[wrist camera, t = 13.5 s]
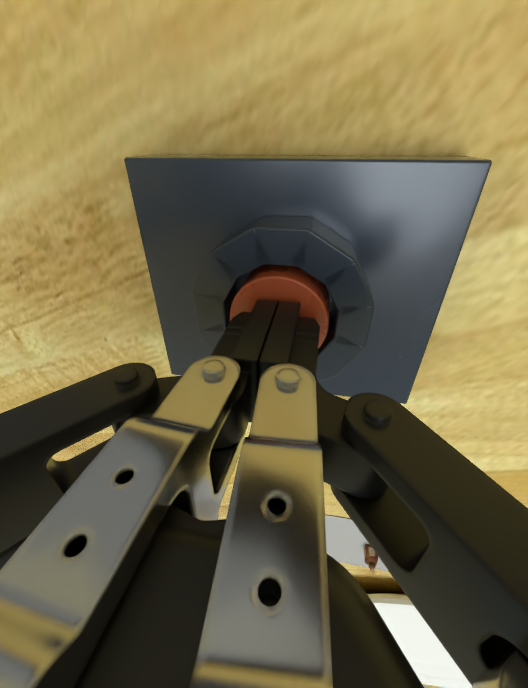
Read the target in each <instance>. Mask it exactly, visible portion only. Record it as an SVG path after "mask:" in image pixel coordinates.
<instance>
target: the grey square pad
mask: <svg viewBox="0 0 528 688" xmlns="http://www.w3.org/2000/svg"><path fill="white" fill-rule="evenodd" d="M325 529H326V551H327V554H328V555H330V556H331V557H333V558H334V559H335V560H336V561H337V562H341V563H347V564H352V565H357V566H363V567H368V568H370V571H371V572H372V573H373V572H374V569H379V570H384V571H388V569H387V568H386V566H385V565H384V564H383V562H382V561H381V559H380V558H379V557H378V555H377V554H376V553H375V551H374V550H373V548H372V547H371V546H370V544H369V543H368V541H367V540H366V539H365V537H364V536H363V535H362V533H361V532H360V530H359V529H358V528H357V526H356V525H355V524H354V522H353V521H352V519H347V518H341V517H334V516H328V515H326V518H325Z"/></svg>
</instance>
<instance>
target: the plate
mask: <svg viewBox="0 0 528 688" xmlns="http://www.w3.org/2000/svg"><path fill="white" fill-rule="evenodd" d="M367 595H368V596H369V598H370V599H371V601H372V602H373V604H374V605H375V607H376V609H377V610H378V612H379V614H380V615H381V617H382V619H383V620H384V622H385V624H386V625H387V627H388V629H389V630H390V632H391V634H392V635H393V637H394V639H395V640H396V642H397V644H398V645H399V647H400V648H401V650H402V652H403V653H404V655H405V657H406V658H407V660H408V662H409V663H410V665H411V667H412V668H413V670H414V672H415V673H416V675H417V677H418V678H419V680H420V682H421V683H422V684H428V685H434V686H438V687H443V688H472V685H471V684H470V683H469V681H468V680H467V678H466V677H465V676H464V674H463V673H462V671H461V670H460V669H459V667H458V666H457V665H456V663H455V662H454V660H453V659H452V658H451V656H450V655H449V653H448V652H447V651H446V649H445V648H444V647H443V645H442V644H441V642H440V641H439V640H438V638H437V637H436V636H435V634H434V633H433V631H432V630H431V629H430V627H429V626H428V624H427V623H426V622H425V620H424V619H423V618H422V616H421V615H420V613H419V612H418V611H417V609H416V608H415V606H414V605H413V604H412V602H411V601H410V600H409V598H408V597H407V595H406V594H390V593H377V594H367Z"/></svg>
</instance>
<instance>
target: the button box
mask: <svg viewBox="0 0 528 688" xmlns="http://www.w3.org/2000/svg"><path fill="white" fill-rule="evenodd" d="M124 161H125V165H126V170H127V174H128V179H129V183H130V188H131V192H132V197H133V201H134V206H135V210H136V215H137V219H138V224H139V228H140V233H141V237H142V242H143V246H144V251H145V255H146V260H147V264H148V269H149V273H150V278H151V283H152V287H153V292H154V296H155V301H156V305H157V310H158V314H159V319H160V323H161V328H162V332H163V337H164V341H165V346H166V350H167V355H168V359H169V364H170V368H171V373H172V374H175V375H184V373H185V372H186V371H187V369H188V368H189V367H190V366H191V365H192V364H193V363H194V362H196V361H197V360H199V359H202V358H204V357H208V356H211V354H212V352H213V351H214V349H215V347H216V345H217V344H218V342H219V340H220V338H221V337H222V335H223V334H224V331H225V330H226V328H227V326H228V325H229V323H230V308H231V305H232V302H233V300H234V297H235V296H236V294H237V293H238V291H239V289H240V288H241V286H242V285H243V283H244V281H245V280H246V278H247V277H248V275H249V274H250V273H251V272H252V271H253V270H254V269H256V268H258V267H260V266H262V265H264V264H268V265H284V266H297V267H299V268H300V269H302V270H304V271H305V272H307V273H308V274H310V275H311V276H313V277H314V278H316V279H318V280H319V281H321V282H322V283H324V284H325V286H326V288H327V291H328V295H329V324H328V331H327V335H326V338H325V340H324V342H323V343H322V345H321V346H320V347H319V348H318V357H317V369H316V377H317V380H318V382H319V384H320V385H321V386H322V387H323V388H324V389H325V390H326V391H327V392H329V393H331V394H332V395H340V396H348V397H352V396H354V395H356V394H359V393H367V392H370V393H378V394H382V395H385V396H388V397H390V398H392V399H394V400H395V401H397V402H398V403H403V404H406V403H407V400H408V398H409V395H410V392H411V389H412V386H413V384H414V381H415V378H416V375H417V372H418V369H419V367H420V364H421V361H422V358H423V355H424V353H425V350H426V347H427V344H428V341H429V338H430V336H431V333H432V330H433V327H434V324H435V322H436V319H437V316H438V313H439V310H440V307H441V305H442V302H443V299H444V296H445V293H446V291H447V288H448V285H449V282H450V279H451V277H452V274H453V271H454V268H455V265H456V262H457V260H458V257H459V254H460V251H461V248H462V246H463V243H464V240H465V237H466V234H467V231H468V229H469V226H470V223H471V220H472V217H473V215H474V212H475V209H476V206H477V203H478V201H479V198H480V195H481V192H482V189H483V186H484V184H485V181H486V178H487V175H488V172H489V170H490V167H491V164H492V161H491V160H487V159H481V158H474V157H468V156H327V155H144V156H134V157H126V158H125V159H124Z"/></svg>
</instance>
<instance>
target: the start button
mask: <svg viewBox="0 0 528 688" xmlns="http://www.w3.org/2000/svg"><path fill="white" fill-rule="evenodd" d="M258 299H262V300H274V301H279V302H280V301H287V302H299V303H301V312H300V317H310V318H315V319H316V321H317V322H318V324H319V325H320V333H319V345H318V348H319V347H320V346H321V345H322V343H323V342H324V340H325V338H326V335H327V331H328V324H329V295H328V291H327V288H326V286H325V284H324V283H322V282H321V281H319V280H318V279H316V278H314V277H313V276H311V275H310V274H308V273H307V272H305V271H304V270H302V269H300V268H299V267H297V266H284V265H268V264H264V265H262V266H260V267H258V268H256V269H254V270H253V271H252V272H251V273H250V274H249V275H248V277H247V278H246V280H245V281H244V283H243V285H242V286H241V288H240V289H239V291H238V293H237V294H236V296H235V297H234V300H233V302H232V305H231V308H230V321H231V319H232V318H233V317H235V316H236V315H238V314H239V313H240V312H252V310H253V308H254V306H255V304H256V301H257V300H258Z"/></svg>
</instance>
